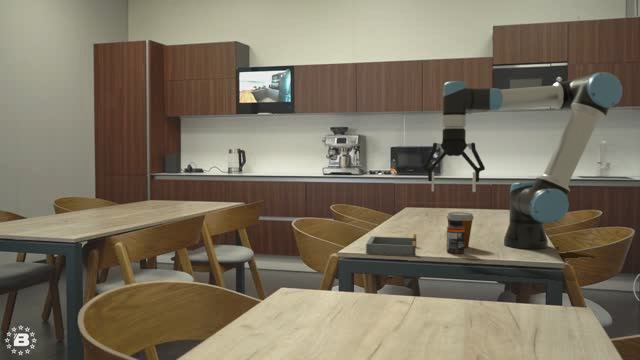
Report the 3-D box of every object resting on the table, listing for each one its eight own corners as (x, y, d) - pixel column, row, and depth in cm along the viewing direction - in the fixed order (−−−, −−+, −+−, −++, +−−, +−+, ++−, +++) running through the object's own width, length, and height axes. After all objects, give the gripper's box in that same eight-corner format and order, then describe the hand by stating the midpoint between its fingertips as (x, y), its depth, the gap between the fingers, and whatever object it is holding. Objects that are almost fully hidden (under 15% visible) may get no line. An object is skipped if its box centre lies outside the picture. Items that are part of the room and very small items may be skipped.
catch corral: (416, 246, 210) (416, 234, 210) (415, 255, 192) (415, 241, 192) (370, 244, 213) (371, 232, 212) (366, 252, 195) (366, 239, 195)
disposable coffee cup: (440, 245, 212) (441, 212, 212) (461, 243, 217) (462, 211, 216) (457, 249, 204) (457, 215, 203) (478, 248, 208) (479, 214, 207)
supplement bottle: (453, 250, 202) (454, 217, 201) (468, 253, 198) (468, 219, 197) (442, 252, 198) (443, 219, 197) (457, 255, 194) (458, 221, 193)
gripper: (491, 128, 198) (490, 191, 199) (416, 128, 202) (415, 190, 203) (493, 127, 190) (492, 192, 192) (416, 128, 195) (415, 191, 196)
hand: (453, 191), depth 197 cm, fingers open, 13 cm apart
